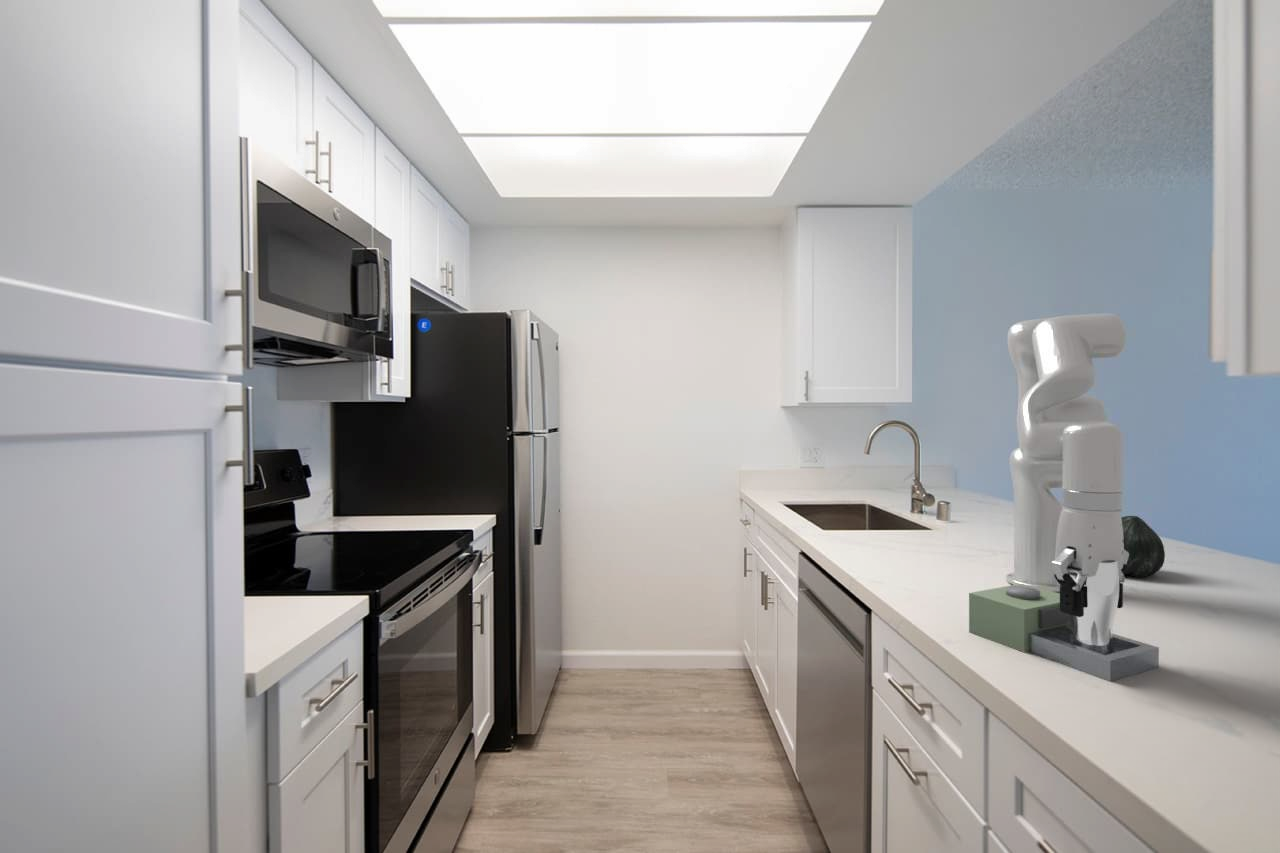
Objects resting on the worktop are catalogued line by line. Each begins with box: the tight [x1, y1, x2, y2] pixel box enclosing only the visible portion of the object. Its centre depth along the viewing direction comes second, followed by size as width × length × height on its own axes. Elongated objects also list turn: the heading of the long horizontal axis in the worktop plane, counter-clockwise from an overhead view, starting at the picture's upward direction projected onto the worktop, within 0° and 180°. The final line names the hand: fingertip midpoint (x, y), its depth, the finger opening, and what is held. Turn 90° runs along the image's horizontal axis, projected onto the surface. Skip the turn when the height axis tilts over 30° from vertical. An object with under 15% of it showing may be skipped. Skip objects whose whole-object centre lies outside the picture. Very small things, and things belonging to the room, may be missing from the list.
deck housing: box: [968, 584, 1070, 653], centre depth 104 cm, size 14×11×8 cm
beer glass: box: [1068, 560, 1119, 655], centre depth 94 cm, size 7×7×15 cm
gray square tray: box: [1028, 624, 1160, 682], centre depth 94 cm, size 12×12×3 cm
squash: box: [1121, 515, 1166, 578], centre depth 143 cm, size 14×15×15 cm
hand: (1091, 609), depth 94 cm, fingers open, 9 cm apart
